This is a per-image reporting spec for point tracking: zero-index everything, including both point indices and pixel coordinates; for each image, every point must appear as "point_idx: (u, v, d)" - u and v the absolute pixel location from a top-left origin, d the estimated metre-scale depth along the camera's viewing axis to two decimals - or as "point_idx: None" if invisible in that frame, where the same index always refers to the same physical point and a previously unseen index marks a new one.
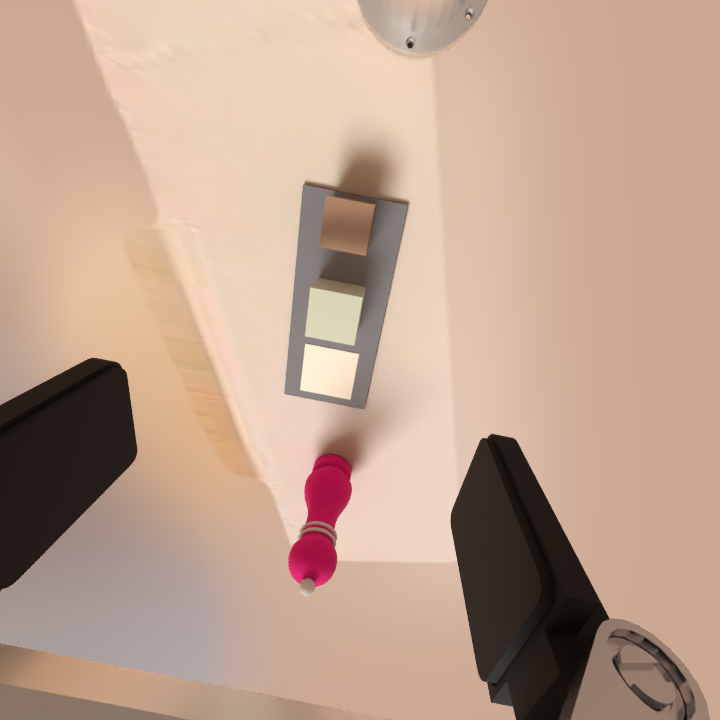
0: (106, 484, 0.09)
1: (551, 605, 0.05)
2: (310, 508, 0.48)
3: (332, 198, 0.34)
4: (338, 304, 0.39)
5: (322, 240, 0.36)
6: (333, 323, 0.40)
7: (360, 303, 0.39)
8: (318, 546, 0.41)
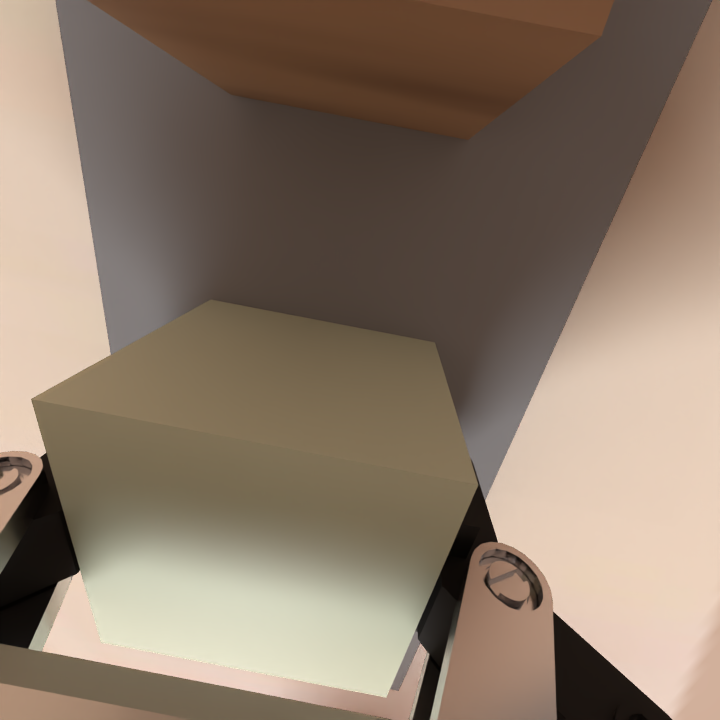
0: None
1: None
2: None
3: None
4: (274, 515, 0.05)
5: None
6: (253, 606, 0.06)
7: (451, 520, 0.05)
8: None
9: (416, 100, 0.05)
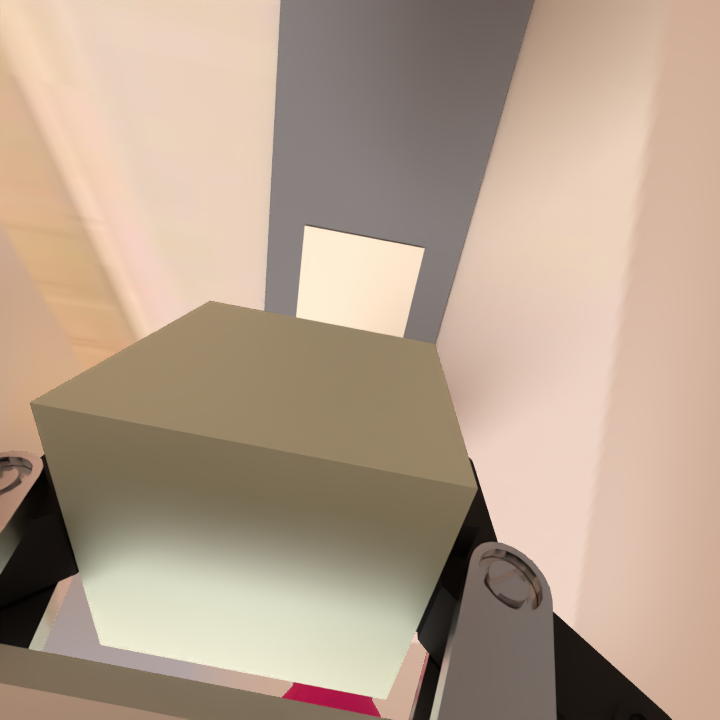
0: None
1: None
2: None
3: None
4: (274, 517, 0.05)
5: None
6: (253, 608, 0.06)
7: (451, 523, 0.05)
8: None
9: None
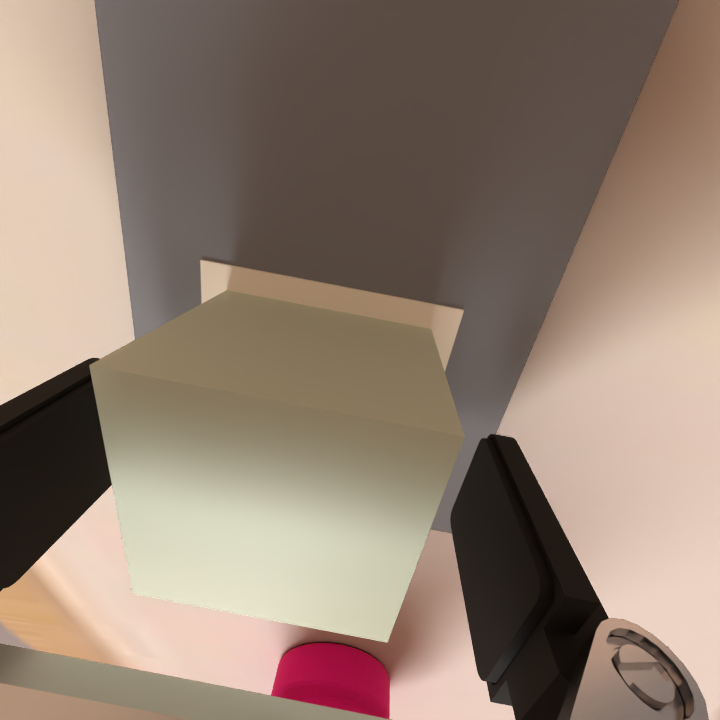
0: (106, 484, 0.09)
1: (550, 604, 0.05)
2: None
3: None
4: (291, 467, 0.06)
5: None
6: (271, 554, 0.07)
7: (443, 470, 0.06)
8: None
9: None
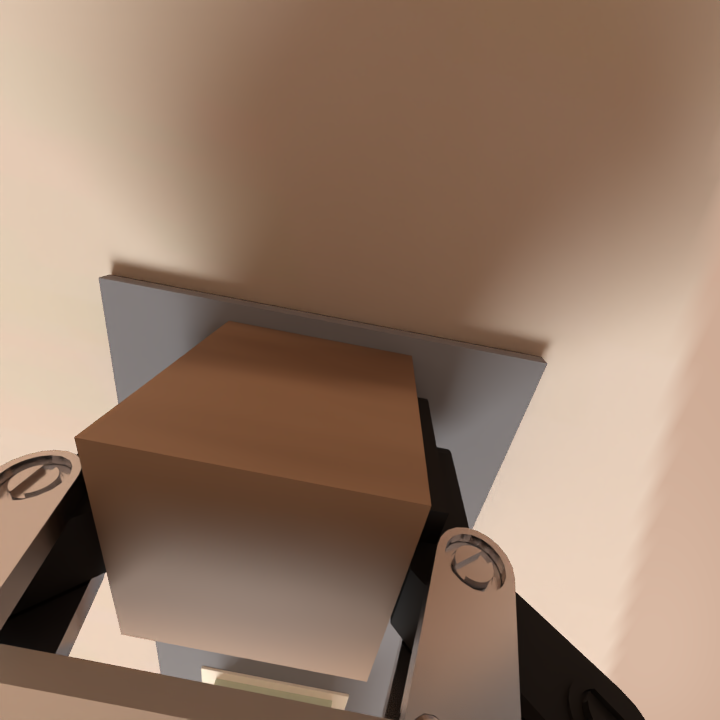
0: None
1: None
2: None
3: (127, 455, 0.05)
4: None
5: (128, 616, 0.07)
6: None
7: None
8: None
9: None
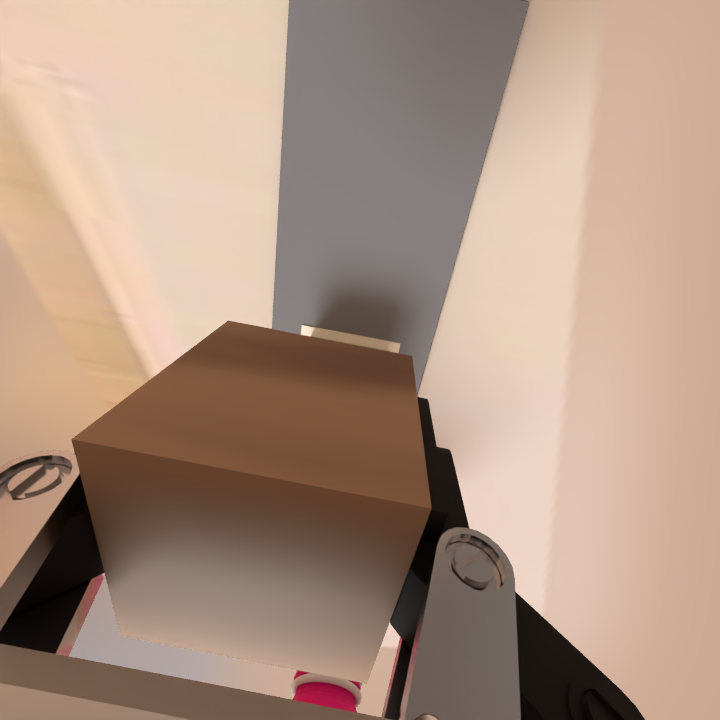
0: None
1: None
2: None
3: (125, 457, 0.05)
4: None
5: (127, 618, 0.07)
6: None
7: None
8: None
9: None
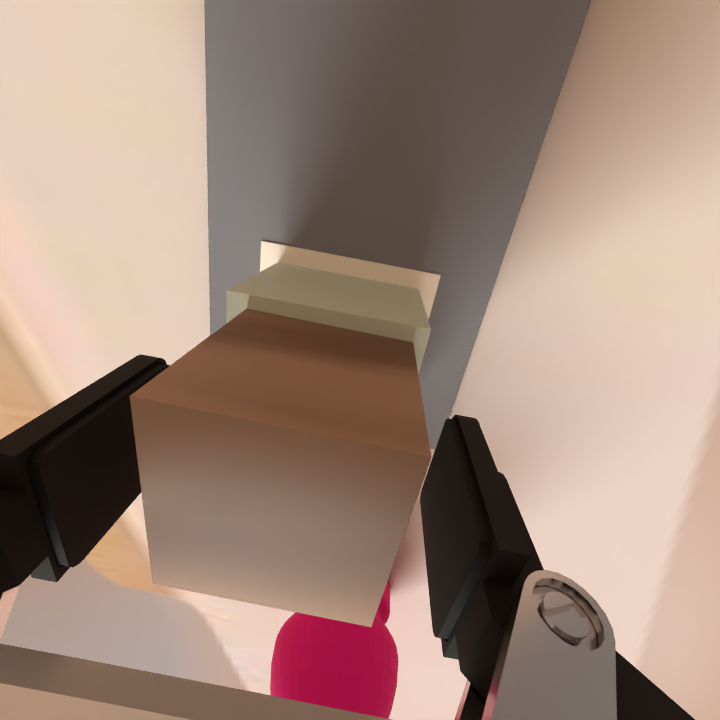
0: None
1: (488, 559, 0.06)
2: None
3: (174, 412, 0.06)
4: None
5: (161, 565, 0.07)
6: None
7: (420, 351, 0.10)
8: None
9: None
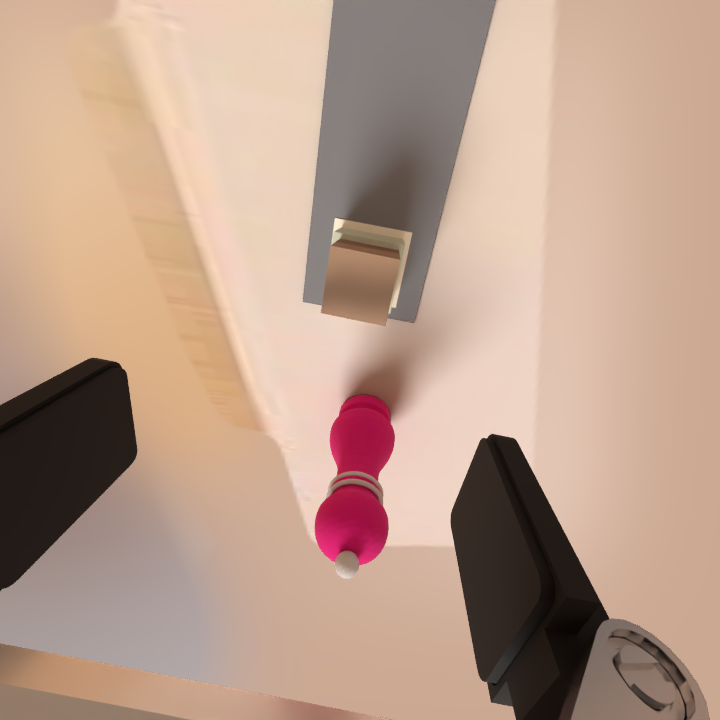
0: (106, 484, 0.09)
1: (551, 605, 0.05)
2: (341, 457, 0.33)
3: (340, 249, 0.24)
4: None
5: (325, 304, 0.26)
6: None
7: (401, 253, 0.29)
8: (361, 503, 0.27)
9: None
